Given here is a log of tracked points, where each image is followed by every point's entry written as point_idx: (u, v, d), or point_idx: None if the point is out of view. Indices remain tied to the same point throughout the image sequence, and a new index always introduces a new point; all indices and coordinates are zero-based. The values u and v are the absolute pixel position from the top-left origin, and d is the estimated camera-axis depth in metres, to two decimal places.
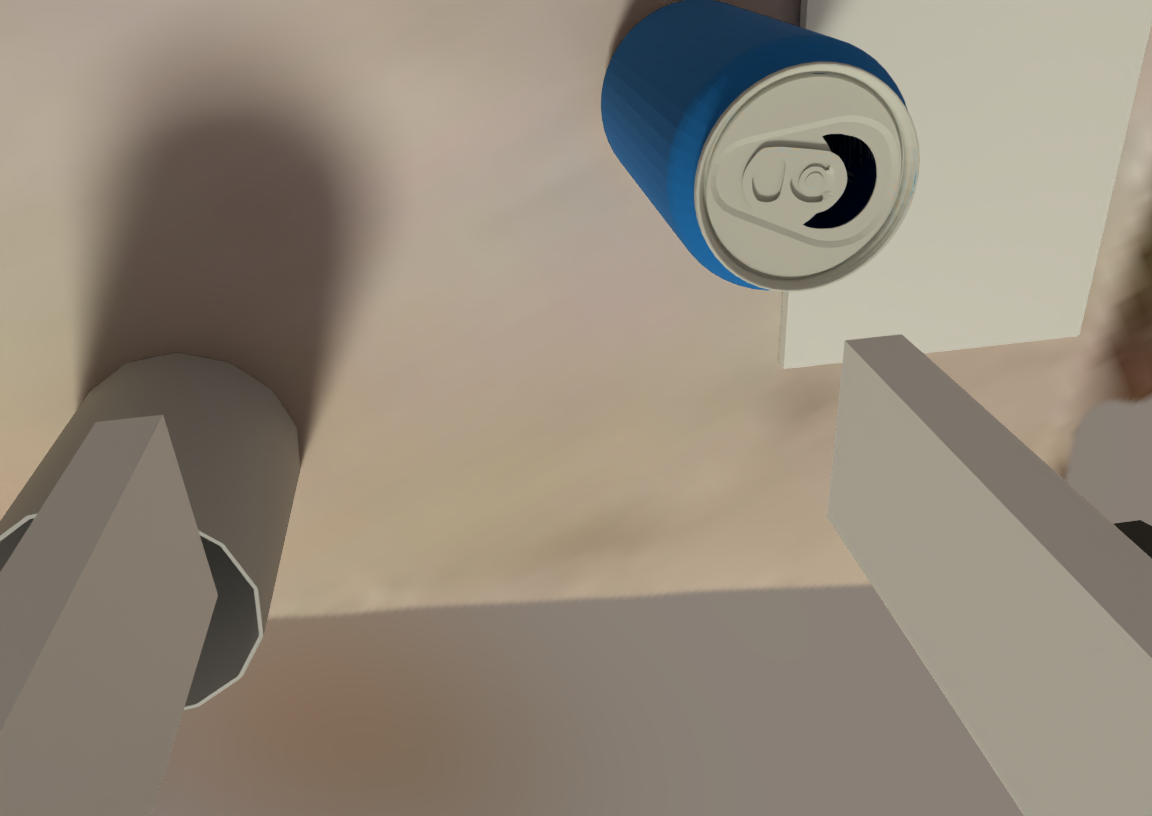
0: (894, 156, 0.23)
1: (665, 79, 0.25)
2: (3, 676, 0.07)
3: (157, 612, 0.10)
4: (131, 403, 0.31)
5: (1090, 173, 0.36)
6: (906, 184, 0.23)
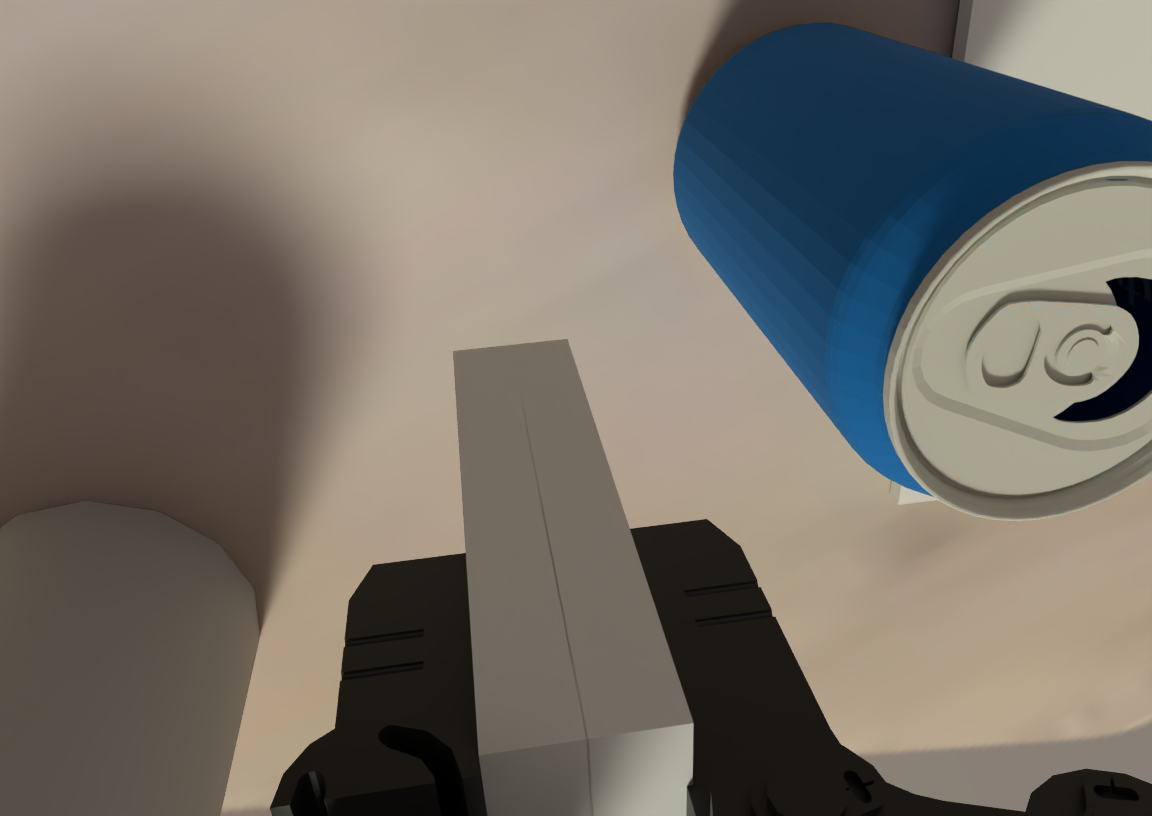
0: None
1: (808, 164, 0.16)
2: (528, 538, 0.08)
3: None
4: (8, 596, 0.22)
5: None
6: None
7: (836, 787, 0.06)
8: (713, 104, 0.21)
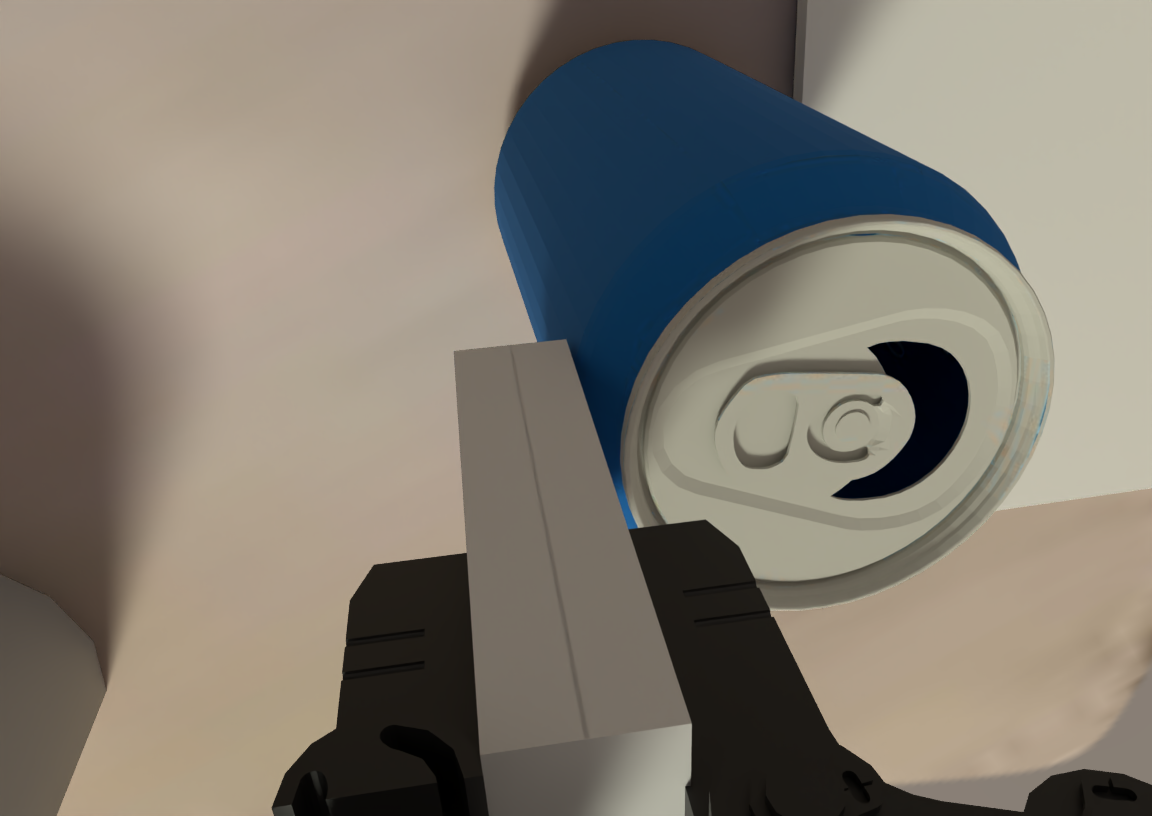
0: (1004, 373, 0.12)
1: (572, 210, 0.14)
2: (529, 537, 0.08)
3: None
4: None
5: None
6: (1024, 420, 0.12)
7: (835, 787, 0.06)
8: (520, 132, 0.19)
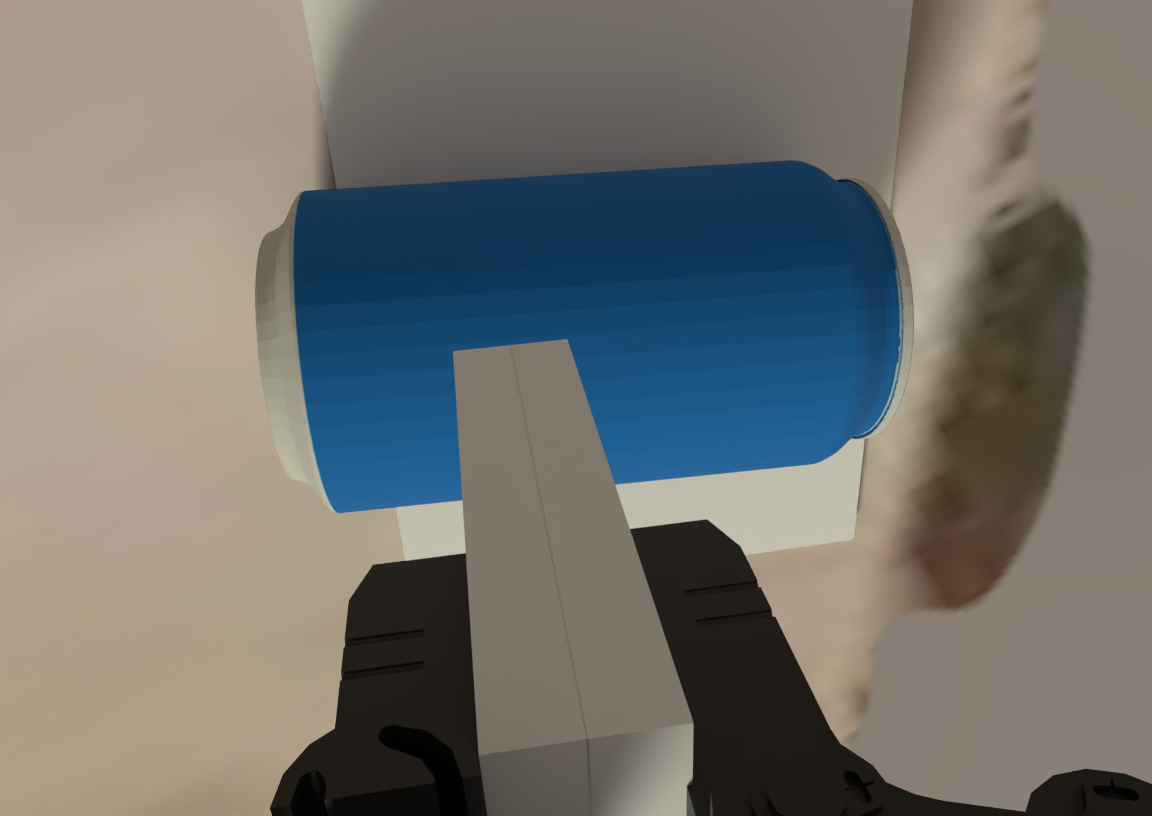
0: None
1: (700, 374, 0.17)
2: (527, 537, 0.08)
3: None
4: None
5: None
6: None
7: (836, 787, 0.06)
8: (382, 408, 0.16)
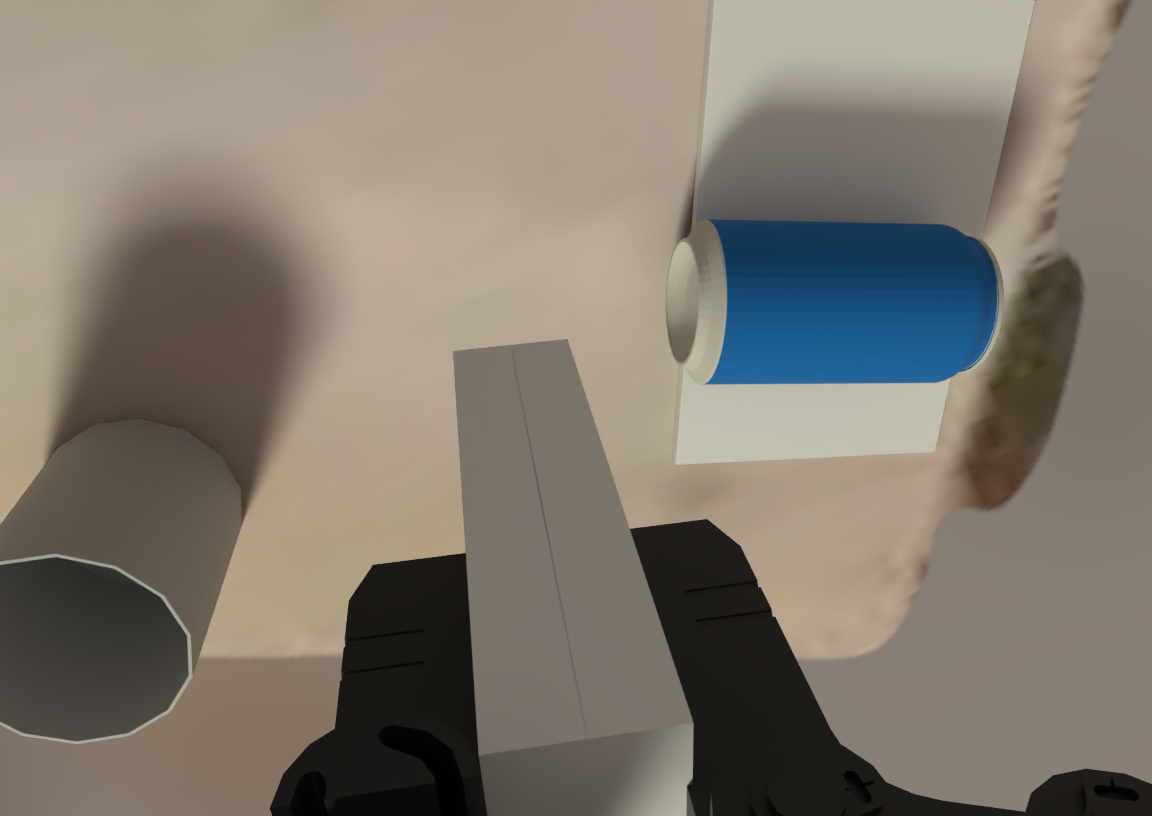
0: None
1: (904, 325, 0.35)
2: (528, 538, 0.08)
3: None
4: (94, 464, 0.36)
5: None
6: None
7: (836, 787, 0.06)
8: (758, 328, 0.34)
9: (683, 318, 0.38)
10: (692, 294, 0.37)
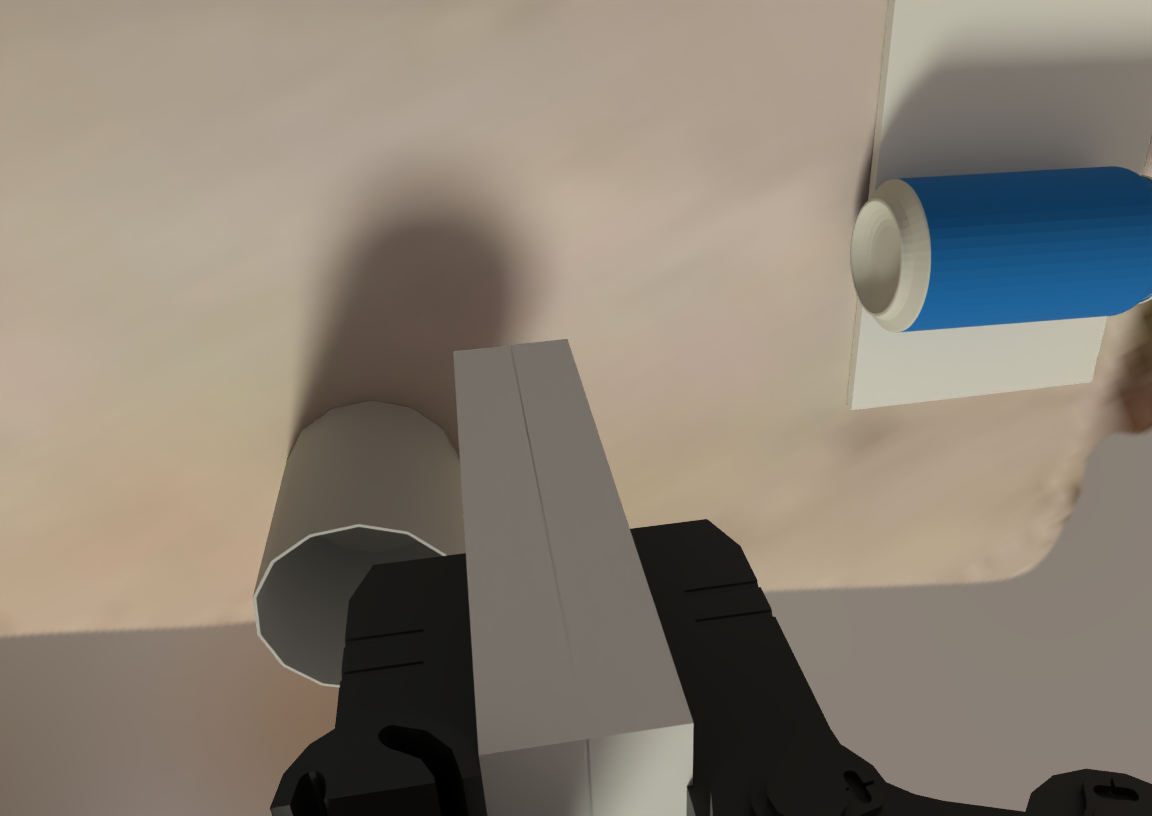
0: None
1: (1092, 262, 0.37)
2: (528, 538, 0.08)
3: None
4: (352, 444, 0.40)
5: None
6: None
7: (836, 787, 0.06)
8: (959, 274, 0.37)
9: (870, 273, 0.41)
10: (881, 249, 0.40)
